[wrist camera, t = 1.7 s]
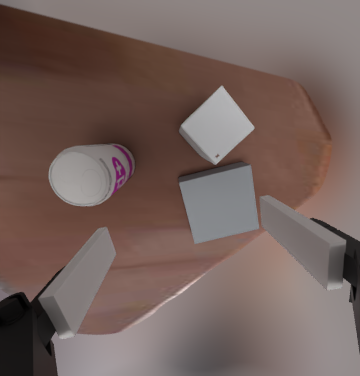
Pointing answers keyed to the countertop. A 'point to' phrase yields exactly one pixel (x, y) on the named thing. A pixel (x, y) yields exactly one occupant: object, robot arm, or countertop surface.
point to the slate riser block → (220, 201)
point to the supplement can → (90, 173)
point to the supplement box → (216, 127)
